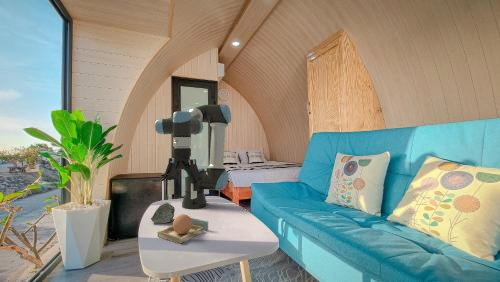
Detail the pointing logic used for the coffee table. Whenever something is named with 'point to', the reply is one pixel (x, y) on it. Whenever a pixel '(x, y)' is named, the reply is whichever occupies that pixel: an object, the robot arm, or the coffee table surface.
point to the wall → (200, 223)
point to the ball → (182, 224)
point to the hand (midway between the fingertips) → (182, 196)
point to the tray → (180, 238)
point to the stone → (163, 214)
